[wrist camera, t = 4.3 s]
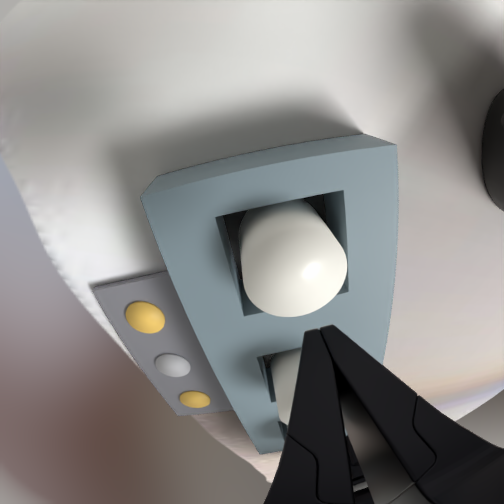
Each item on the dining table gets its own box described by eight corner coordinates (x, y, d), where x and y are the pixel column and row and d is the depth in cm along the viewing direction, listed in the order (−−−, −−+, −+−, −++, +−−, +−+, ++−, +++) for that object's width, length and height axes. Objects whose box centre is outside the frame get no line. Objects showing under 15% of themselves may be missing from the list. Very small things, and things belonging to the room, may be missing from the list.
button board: (358, 404, 24) (366, 429, 22) (256, 428, 25) (259, 454, 22) (364, 133, 13) (396, 144, 10) (157, 176, 13) (139, 197, 10)
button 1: (324, 260, 15) (348, 303, 12) (248, 277, 15) (254, 325, 12) (316, 186, 13) (344, 217, 10) (229, 204, 13) (231, 241, 10)
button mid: (334, 371, 18) (349, 415, 15) (275, 385, 18) (283, 431, 15) (334, 330, 16) (354, 380, 13) (265, 347, 16) (273, 400, 13)
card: (233, 406, 22) (233, 411, 22) (178, 412, 22) (177, 417, 22) (170, 270, 15) (168, 276, 15) (94, 287, 16) (91, 292, 15)
